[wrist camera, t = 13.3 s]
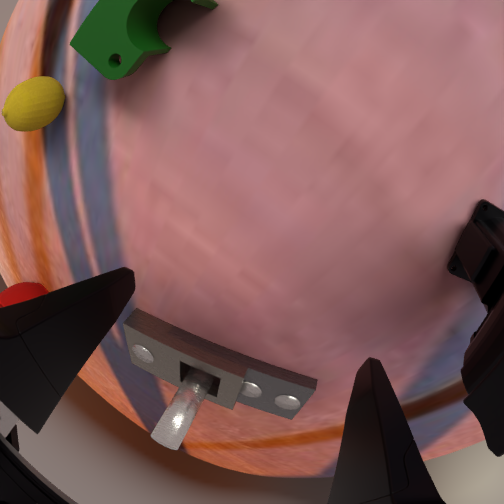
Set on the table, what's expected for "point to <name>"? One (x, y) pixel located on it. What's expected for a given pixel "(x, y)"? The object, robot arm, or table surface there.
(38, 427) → the robot arm
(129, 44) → the clamp
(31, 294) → the ceramic cup
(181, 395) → the steel pin
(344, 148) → the table surface
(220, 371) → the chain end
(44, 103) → the lemon
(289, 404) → the plate
